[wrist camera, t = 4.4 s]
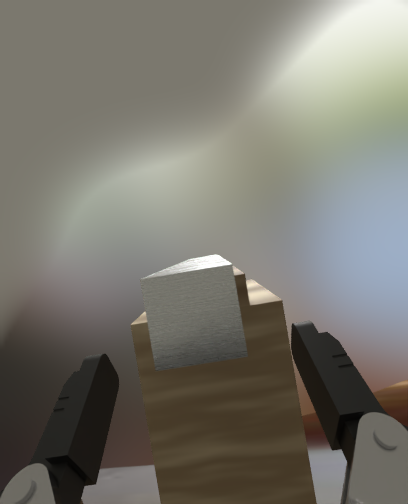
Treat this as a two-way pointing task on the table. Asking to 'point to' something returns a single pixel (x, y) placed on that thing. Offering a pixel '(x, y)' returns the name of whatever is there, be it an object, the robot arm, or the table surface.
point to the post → (229, 416)
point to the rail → (194, 313)
